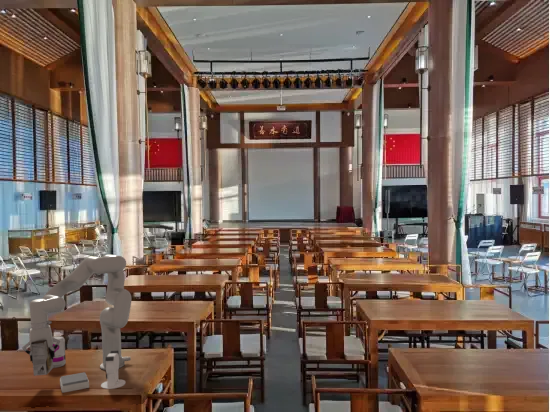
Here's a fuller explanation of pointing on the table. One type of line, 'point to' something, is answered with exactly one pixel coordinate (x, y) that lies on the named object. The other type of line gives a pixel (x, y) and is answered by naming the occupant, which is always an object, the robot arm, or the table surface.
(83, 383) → the pedestal
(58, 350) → the supplement can
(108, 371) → the white upright piece
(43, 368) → the coffee box
